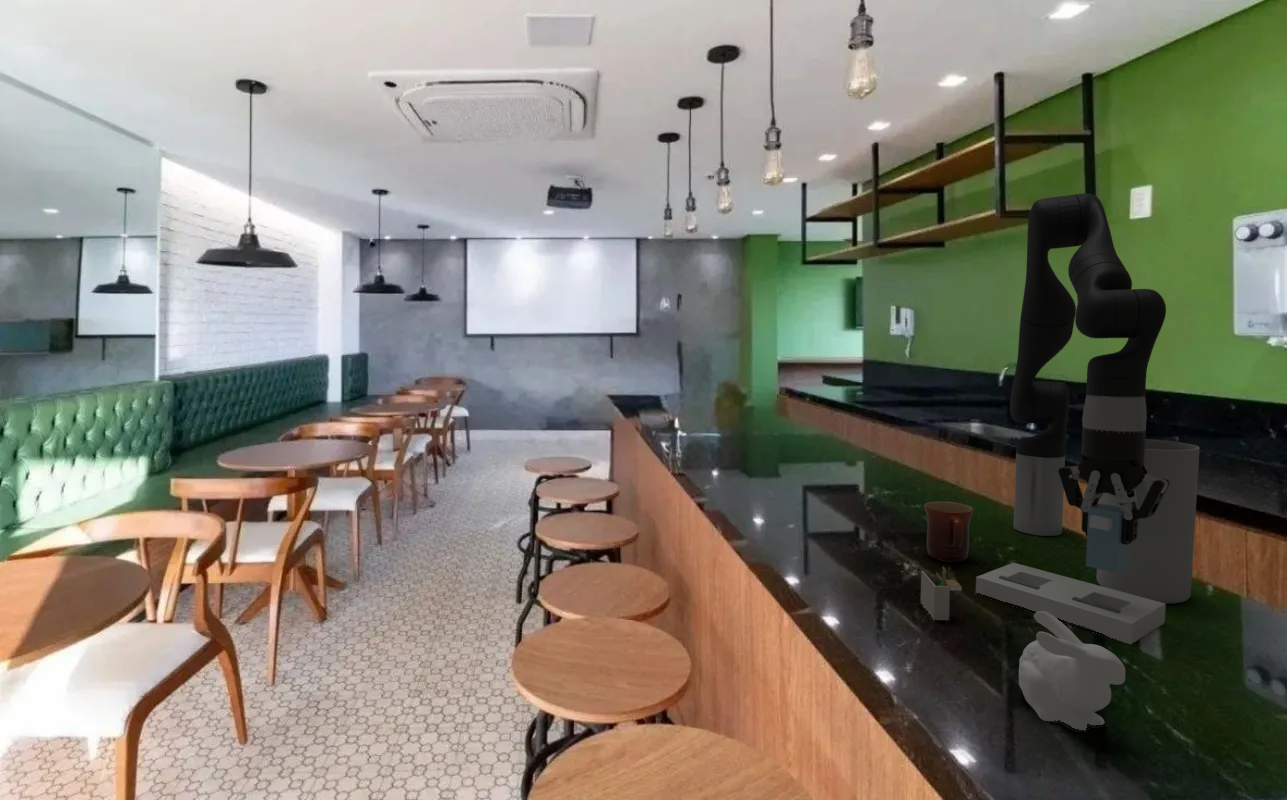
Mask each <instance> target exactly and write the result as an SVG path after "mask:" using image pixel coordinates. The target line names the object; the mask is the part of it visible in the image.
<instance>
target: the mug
mask: <svg viewBox="0 0 1287 800" xmlns="http://www.w3.org/2000/svg"><path fill="white" fill-rule="evenodd" d="M923 508H924V510H925V514H926V518H927V531H926V549H927V554H928V555H929V556H930V557H931V558H932V557H933V558H936V559H940V560H945V561H962V562H964V561H965V560H966V559H968V554H969V550H970V547H969V546H970V545H969V543H970V534H969V533H970V531H969V530H970V529H969V528H970V527H969V526H970V522H971V518H972V515H973V513H974V508H973V507H972V506H970V505H967V504H964V503H961V502H953V501H929V502H926V503H924V505H923ZM933 558H932V559H933ZM963 560H964V561H963Z"/></svg>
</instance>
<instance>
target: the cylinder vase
mask: <svg viewBox="0 0 1287 800" xmlns="http://www.w3.org/2000/svg"><path fill="white" fill-rule="evenodd" d="M1199 462H1200V447H1199V445H1195V444H1190V443H1186V442H1185V443H1184V442H1178V441H1170V440H1162V439H1161V440H1160V439H1148V438H1147V439H1146V438H1145V454H1144V467H1145V469H1146V470H1147V474H1149V475H1151V476H1154V477H1156V478H1159V479H1167V480H1168V481H1169V482H1170V484H1169V486H1168V488H1167V490H1166V492H1165V494H1164V496H1163V498H1162V500H1161V502H1160V504H1159V506H1158V508H1157V510H1156V512H1155V514H1154V515H1152V516H1150V517H1147V518H1140V519H1139V520H1138V529H1137V538H1136V540H1134V541H1132V543H1130V544H1129V564H1128V568H1127V569H1125V570H1123V571H1121V572H1119V573H1113V572H1109V571H1105V570H1101V569H1097V568H1096V582H1097V583H1098V586H1102V587H1106V588H1109V589H1113V590H1117V591H1121V592H1124V593H1128V594H1132V595H1135V596H1139V597H1143V598H1147V599H1150V600H1154V601H1158V602H1161V603H1165V604H1166V605H1168V604H1169V605H1170V604H1171V605H1172V604H1173V605H1174V604H1181V603H1184V602H1187V601H1188V600H1189V599H1190V597H1191V595H1192V593H1191V592H1192V576H1193V564H1194V563H1193V561H1194V559H1193V558H1194V546H1195V545H1194V544H1195V526H1196V513H1197V512H1196V511H1197V498H1198V497H1197V496H1198V479H1199V464H1200V463H1199ZM1145 486H1146V484H1145V482H1144V481H1142V482H1141V483H1140V484H1139V485H1138V486H1137V487H1136V488H1135V492H1136V496H1137V505H1138V509H1140V507H1141V505H1142V503H1143V501H1144V499H1145V497H1146V495H1147V493H1148V491H1147V490H1146V489H1145ZM1099 504H1106V505H1112V506H1118V507H1121V506H1120V504H1119V503H1118V501H1117V497H1116V496H1115V495H1112V494H1109V493H1103V495H1102V497H1101V498H1100V500H1099Z"/></svg>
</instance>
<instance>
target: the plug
mask: <svg viewBox="0 0 1287 800" xmlns="http://www.w3.org/2000/svg"><path fill="white" fill-rule="evenodd" d="M1122 519H1124V517H1123V514H1122V510H1121V507H1118V506H1112V505H1106V504H1100V503H1098V504H1097V505H1094V506H1091V507H1088V528H1087V536H1086V552H1085V553H1086V554H1085V555H1086V556H1085V567H1088V568H1093V569H1096V570H1097V569H1101V570H1105V571H1109V572H1113V573H1119V572H1121V571H1123V570H1125V569H1127V568H1128V564H1129V544H1128V545H1125V544H1121V530H1122Z"/></svg>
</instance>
